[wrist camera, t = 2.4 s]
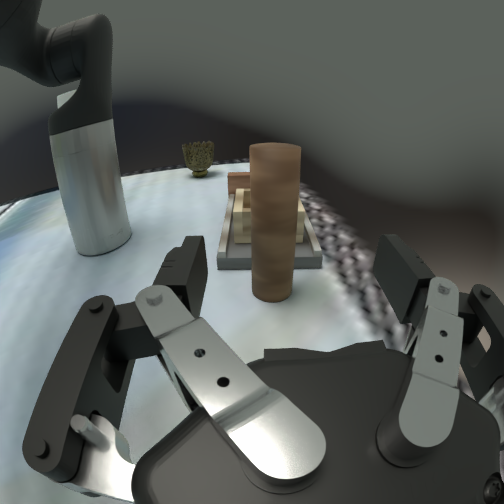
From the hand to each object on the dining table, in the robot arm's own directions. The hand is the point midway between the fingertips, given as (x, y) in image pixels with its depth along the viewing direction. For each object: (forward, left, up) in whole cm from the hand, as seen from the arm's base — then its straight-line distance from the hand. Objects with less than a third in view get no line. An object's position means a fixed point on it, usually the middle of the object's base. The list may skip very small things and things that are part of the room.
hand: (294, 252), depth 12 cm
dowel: (-7, +9, -11) cm, 16 cm away
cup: (-45, +32, -12) cm, 56 cm away
